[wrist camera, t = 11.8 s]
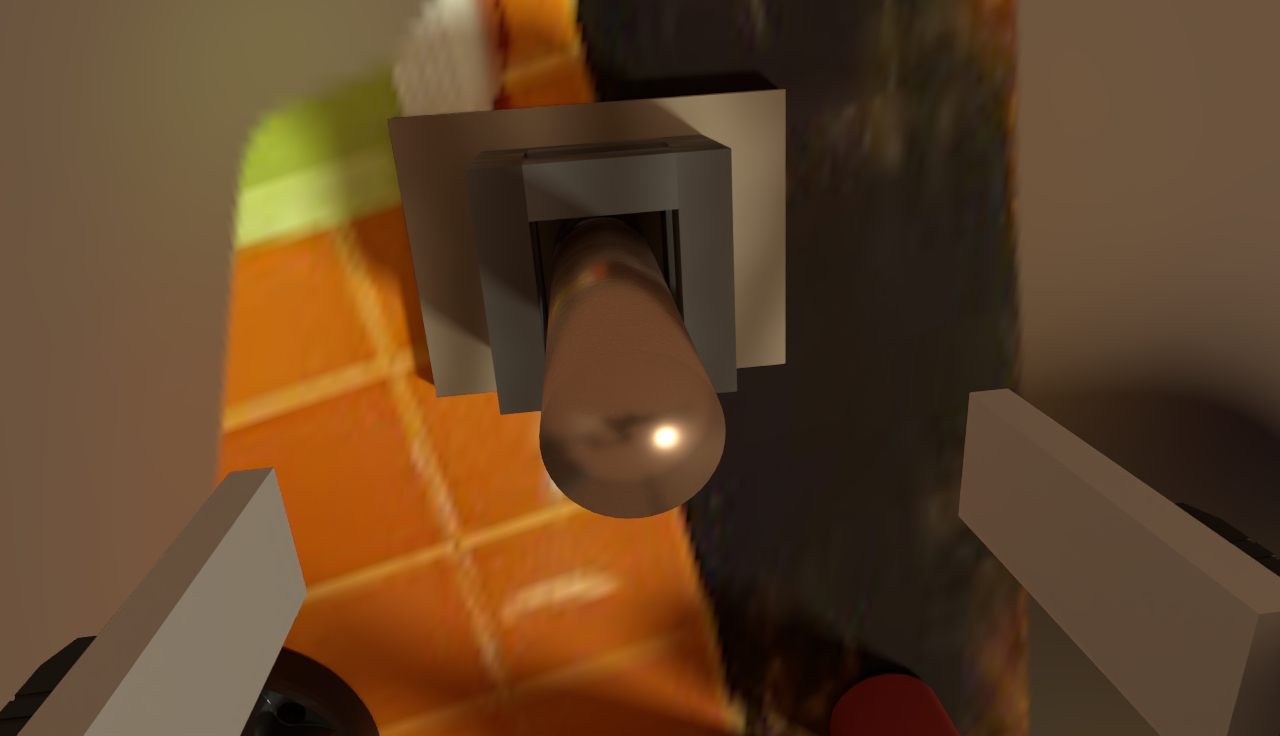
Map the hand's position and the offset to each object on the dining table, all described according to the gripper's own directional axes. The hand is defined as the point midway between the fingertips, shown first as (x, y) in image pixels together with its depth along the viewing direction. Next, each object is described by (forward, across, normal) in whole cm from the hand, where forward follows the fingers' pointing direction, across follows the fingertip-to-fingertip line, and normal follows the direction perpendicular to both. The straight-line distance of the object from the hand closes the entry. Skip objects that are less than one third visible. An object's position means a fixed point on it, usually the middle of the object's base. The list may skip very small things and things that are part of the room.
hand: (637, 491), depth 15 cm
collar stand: (+21, 0, 0) cm, 21 cm away
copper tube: (+20, 0, 0) cm, 20 cm away
